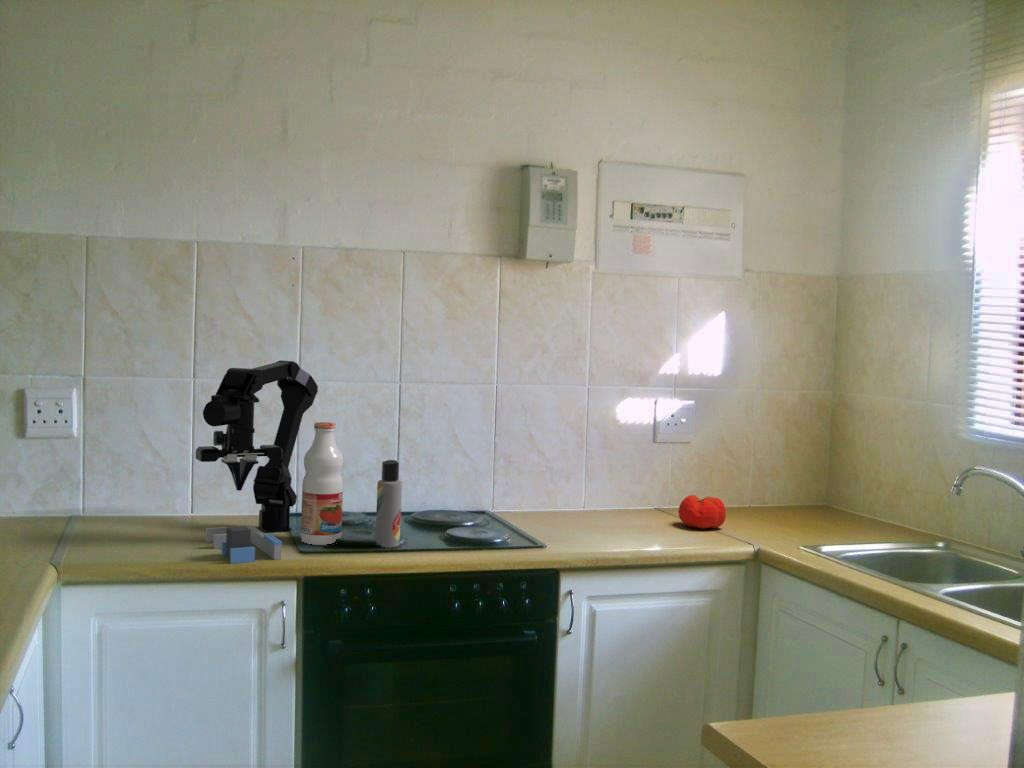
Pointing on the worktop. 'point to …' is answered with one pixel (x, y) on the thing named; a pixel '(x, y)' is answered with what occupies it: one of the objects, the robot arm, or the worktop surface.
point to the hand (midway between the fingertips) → (238, 490)
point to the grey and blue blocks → (245, 554)
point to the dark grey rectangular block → (237, 538)
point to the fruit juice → (322, 488)
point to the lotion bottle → (388, 506)
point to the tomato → (702, 512)
